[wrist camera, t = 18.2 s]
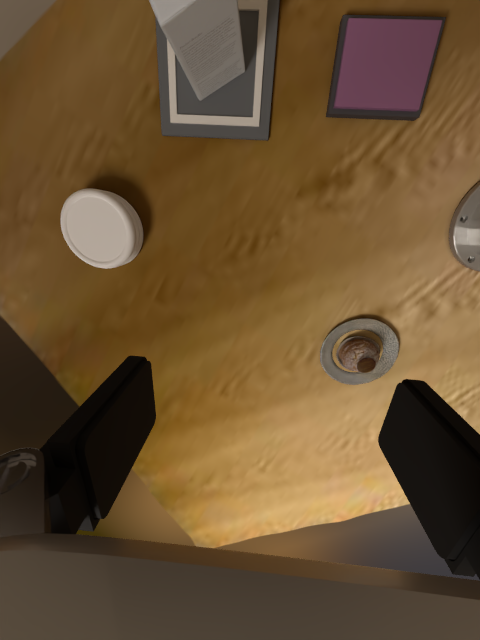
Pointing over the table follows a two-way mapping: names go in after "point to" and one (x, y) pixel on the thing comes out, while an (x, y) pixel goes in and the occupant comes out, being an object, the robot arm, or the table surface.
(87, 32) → the table surface
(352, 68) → the ink pad
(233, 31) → the skincare box
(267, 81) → the mat
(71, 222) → the white round disc
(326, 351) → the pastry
